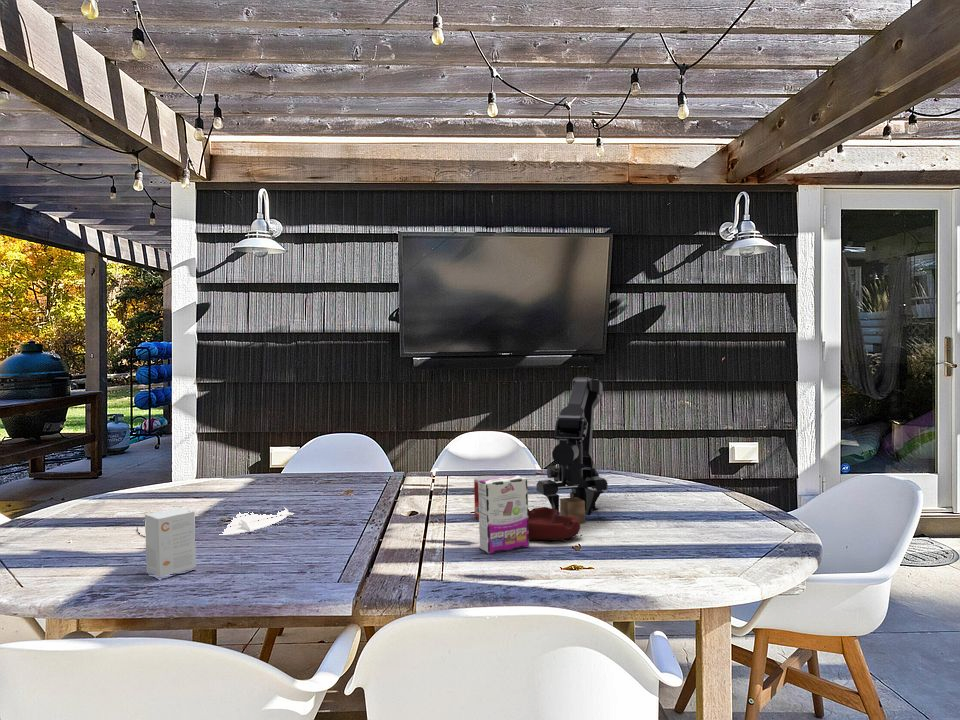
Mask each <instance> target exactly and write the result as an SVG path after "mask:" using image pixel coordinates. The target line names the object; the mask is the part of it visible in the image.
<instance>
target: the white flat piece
mask: <svg viewBox="0 0 960 720" xmlns="http://www.w3.org/2000/svg"><path fill="white" fill-rule="evenodd" d="M284 508H285V510H284V511H281V512H279V511H278V513H277V515H272V514H270V515H266V514H263V515H261V514H260V515H258V514H254V513H253V512H252V513H250V514H251V515H249V514H248V513H249V512H248V513H244V514H241V513H240V512H239V514H237V515H236V517H237V518H234V517H233V520H231V521H232V522H231V523H230V524H228V525H227V528H226V529H224V532H222V533H223V534H219V535H234V534H240V533H245V532H249V531H250V532H251V531H254V530H257V529H260V528H264V527H267V526H270V525H272V524H275V523H277V522H279V521H281V520H283V519H284V518H286V517H287V516H289V515H293V514H294V515H295V513H294V512H289V509H288V508H286V507H284ZM245 515H246V516H245ZM280 515H281V516H280ZM294 515H293V516H294ZM240 516H241V517H240ZM276 516H277V517H276ZM271 517H273V518H271ZM289 517H290V516H289ZM267 518H268V519H267ZM258 520H259V521H258ZM230 526H231V527H230Z"/></svg>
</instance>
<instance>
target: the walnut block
mask: <svg viewBox="0 0 960 720" xmlns="http://www.w3.org/2000/svg"><path fill="white" fill-rule="evenodd" d="M559 515H560V516H570V517H576V518H577V520H578V521H579V523H580V525H581V524H582V525H583V524H586V511H585V501H584V500H582V499H580V498H578V497H573V498H570V497H564V498H563V497H561V498H559Z"/></svg>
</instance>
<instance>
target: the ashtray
mask: <svg viewBox="0 0 960 720" xmlns="http://www.w3.org/2000/svg"><path fill="white" fill-rule="evenodd" d="M528 525H529V541H564V542H565V541H566V542H570V541H573V539H574V537H576V536H577V535H578V534H579V533H580V530H581V524H580V523H579V521H578V520H577V518H576V517H570V516H560V514H559V515H558V510H557V509H552V507H551V508H550V507H546V506H542V507H533V508H532V509H531V510H530V509H529V508H528Z"/></svg>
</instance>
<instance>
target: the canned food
mask: <svg viewBox="0 0 960 720" xmlns="http://www.w3.org/2000/svg"><path fill="white" fill-rule="evenodd" d="M494 478H501V476H498V475H497V476H496V475H481V476H476V477H474V479H473V484H474V485H473V487H474V489H473V490H474V492H473V494H474V496H473V497H474V517H475V519H478V520H479V499H478V481H479V480H486V479H494Z"/></svg>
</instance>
